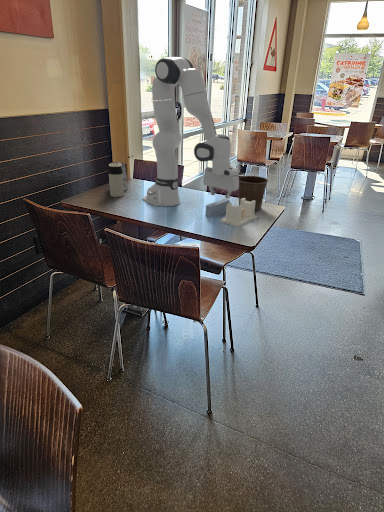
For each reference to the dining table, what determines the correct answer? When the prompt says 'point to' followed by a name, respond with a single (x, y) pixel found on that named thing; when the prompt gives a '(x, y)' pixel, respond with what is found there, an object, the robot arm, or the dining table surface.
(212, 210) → the blue-grey block
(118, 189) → the travel mug
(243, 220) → the display stand
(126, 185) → the coffee box
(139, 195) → the dining table surface
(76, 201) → the dining table surface
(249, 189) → the plant pot
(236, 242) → the dining table surface
